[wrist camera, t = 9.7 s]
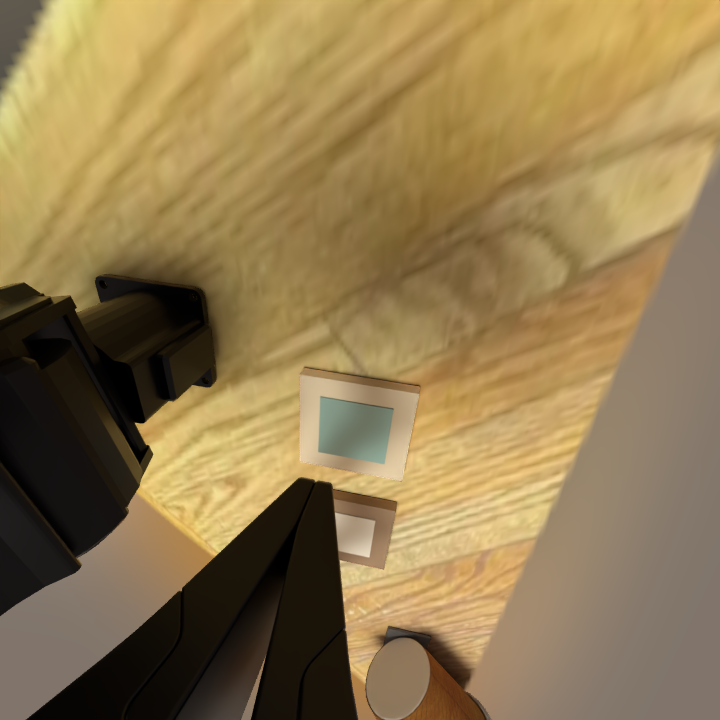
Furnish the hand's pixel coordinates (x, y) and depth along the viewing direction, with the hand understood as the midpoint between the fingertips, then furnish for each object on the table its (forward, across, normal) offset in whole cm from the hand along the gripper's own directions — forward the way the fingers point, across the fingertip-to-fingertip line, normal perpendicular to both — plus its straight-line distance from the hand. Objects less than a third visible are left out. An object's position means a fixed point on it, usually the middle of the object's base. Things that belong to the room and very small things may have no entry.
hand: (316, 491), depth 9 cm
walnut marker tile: (+12, 0, +18) cm, 21 cm away
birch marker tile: (+12, 0, +8) cm, 14 cm away
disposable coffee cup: (+9, -6, +31) cm, 33 cm away
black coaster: (+12, -6, +33) cm, 36 cm away
